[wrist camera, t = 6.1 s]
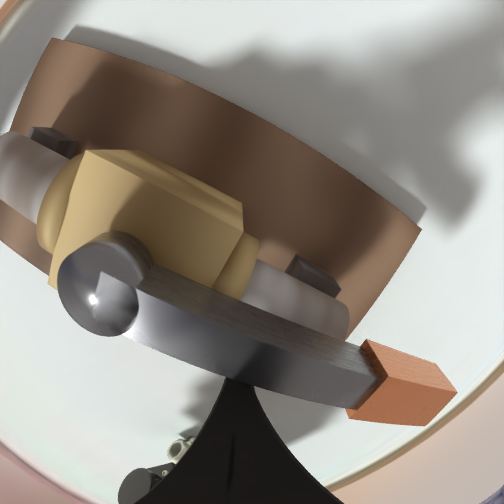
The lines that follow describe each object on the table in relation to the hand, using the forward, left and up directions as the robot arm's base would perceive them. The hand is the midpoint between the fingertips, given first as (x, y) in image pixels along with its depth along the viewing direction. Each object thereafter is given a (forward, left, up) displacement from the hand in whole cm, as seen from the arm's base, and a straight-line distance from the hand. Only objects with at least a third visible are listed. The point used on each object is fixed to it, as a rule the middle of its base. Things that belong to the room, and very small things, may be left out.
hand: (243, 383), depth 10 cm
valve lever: (+1, +2, 0) cm, 2 cm away
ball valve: (-6, +2, -8) cm, 10 cm away
